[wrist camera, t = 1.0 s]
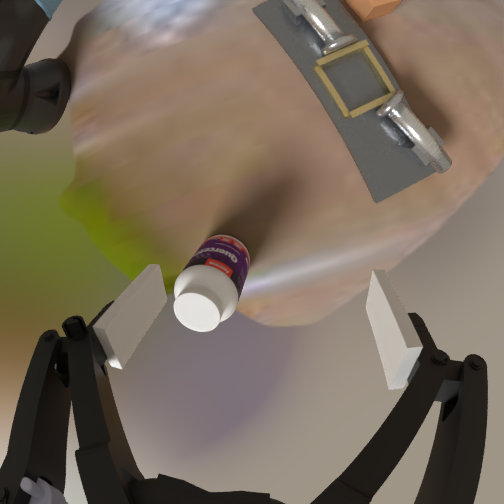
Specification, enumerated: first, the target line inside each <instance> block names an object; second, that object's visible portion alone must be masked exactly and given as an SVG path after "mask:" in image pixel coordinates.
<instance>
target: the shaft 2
mask: <svg viewBox="0 0 504 504" xmlns="http://www.w3.org/2000/svg"><path fill="white" fill-rule="evenodd" d="M392 92H393V91H392ZM404 95H405V93H404V92H403V91H402V90H401V89H400V88H397V89H395V90H394V93H393V94H392V95H391V96H390V97H389V98H388V99H387V100H386V102H385V103H383V104H381V105H379V106H378V107H377V108H376V110H375V112H374V113H375V114H376V115H377V116H378V117H379V118H382V117H384V116H386V115H388V116H389V117H390V118H391V119H392V120H393V121H394V122H395V123H396V125H397V126H398V127H399V128H400V129H401V130H402V131H403V132H404V133H405V134H406V135H407V136H408V137H409V140H408V141H407V142H406V143H405V144H404V146H403V148H404V149H405V151H406V152H407V153H408V154H409V155H410V156H411V157H412V159H413V160H414V161H415V162H416V163H419V164H422V165H425V166H427V165H428V163H429V162H430V163H431V165H432V166H433V167H434V169H435V170H436V171H437V172H438V173H443V172H445V171H446V170H448V169H449V168H450V166H451V164H452V160H451V158H450V157H449V156H448V154H447V153H446V152H445V150H444V149H443V148H442V147H443V145H444V144H445V143H444V142H443V141H442V139H441V138H440V137H439V135H438V134H437V133H436V132H435V130H434V129H433V128H432V127H431V126H424V124H423V123H422V122H421V121H420V120H419V119H418V117H417V116H416V115H415V114H414V113H413V112H412V111H411V110H410V109H409V108H408V107H407V106H406V104H405V103H404V102H403V101H402V99H403V98H404Z"/></svg>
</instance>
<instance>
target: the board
mask: <svg viewBox="0 0 504 504" xmlns="http://www.w3.org/2000/svg"><path fill="white" fill-rule="evenodd" d="M323 1H324V2H325V3H326V7H325V10H326V11H327V13H328V14H329V15H330V16H331V17H332V19H333V20H334V21H335V22H336V24H337V25H338V26H339V27H340V29H341V30H342V31H343V33H344V34H345V35H347V34H354V35H355V36H356V37H357V39H358V41H357V42H356V43H355V44H353V45H350V46H348V47H345V48H343V49H341V50H338V51H336V52H334V53H331V54H329V55H327V56H324V54H323V53H322V51H321V49H322V48H323V47H324V46H325V45H326V44H325V43H324V41H323V40H322V39H321V37H320V36H319V35H318V33H317V32H316V31H315V30H314V28H313V27H312V26H311V25H310V23H309V22H308V21H305V22H302V23H300V24H298V25H295V23H294V22H293V21H292V20H291V19H290V17H289V16H288V15H287V14H286V13H285V12H284V11H283V2H282V0H269V1H267V2H265V3H263V4H261V5H259V6H257V7H255V8H253V9H252V10H253V12H254V14H255V15H256V16H257V17H258V18H259V19H260V20H261V22H262V23H263V24H264V25H265V26H266V28H267V29H268V30H269V31H270V32H271V34H272V35H273V36H274V37H275V39H276V40H277V41H278V42H279V44H280V45H281V46H282V47H283V49H284V50H285V51H286V53H287V54H288V55H289V57H290V58H291V59H292V61H293V62H294V63H295V65H296V66H297V68H298V69H299V70H300V72H301V73H302V75H303V76H304V78H305V79H306V81H307V82H308V83H309V85H310V86H311V88H312V89H313V91H314V92H315V94H316V96H317V97H318V99H319V100H320V102H321V103H322V105H323V107H324V108H325V110H326V111H327V113H328V115H329V116H330V118H331V120H332V121H333V123H334V125H335V126H336V128H337V130H338V132H339V133H340V135H341V137H342V139H343V140H344V142H345V144H346V146H347V148H348V150H349V151H350V153H351V155H352V157H353V159H354V161H355V163H356V165H357V167H358V169H359V171H360V173H361V175H362V177H363V179H364V181H365V183H366V185H367V187H368V189H369V191H370V193H371V196H372V198H373V200H374V202H375V203H378V202H380V201H382V200H384V199H386V198H388V197H390V196H392V195H393V194H395V193H397V192H399V191H401V190H403V189H405V188H407V187H409V186H410V185H412V184H414V183H416V182H418V181H420V180H422V179H424V178H425V177H427V176H429V175H431V174H433V173H435V172H437V171H436V170H435V169H434V167H433V166H432V165H431V163H430V162H429V163H428V165H427V166H425V165H422V164H419V163H416V162H415V161H414V160H413V159H412V157H411V156H410V155H409V154H408V153H407V152H406V151H405V149H404V148H403V146H404V144H405V143H406V142H407V141H408V140H409V137H408V136H407V135H406V134H405V133H404V132H403V131H402V130H401V129H400V128H399V127H398V126H397V125H396V123H395V122H394V121H393V120H392V119H391V118H390V117H389V116H388V115H386V116H384V117H382V118H379V117H378V116H377V115H376V114H375V113H374V112H375V110H376V108H377V107H378V106H379V105H381V104H383V103H385V102H386V100H387V99H388V98H389V97H390V96H391V95H392V94H393V93H394V90H395V89H397V88H400V87H399V85H398V83H397V82H396V80H395V78H394V77H393V75H392V73H391V72H390V70H389V68H388V67H387V65H386V63H385V62H384V60H383V59H382V57H381V56H380V54H379V53H378V51H377V50H376V48H375V47H374V45H373V44H372V42H371V41H370V40H369V38H368V37H367V35H366V34H365V33H364V31H363V30H362V29H361V27H360V26H359V25H358V23H357V22H356V21H355V20H354V18H353V17H352V16H351V15H350V13H349V12H348V11H347V10H346V9H345V7H344V6H343V5H342V4H341V3H340V2H339V0H323ZM392 91H393V92H392ZM402 101H403V102H404V103H405V104H406V106H407V107H408V108H409V109H410V110H411V108H410V106H409V104H408V102H407V100H406V98H405V96H404V98H403V99H402ZM411 111H412V110H411Z"/></svg>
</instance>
